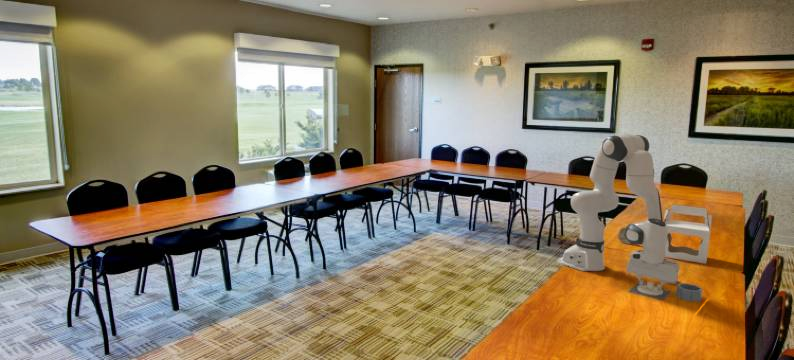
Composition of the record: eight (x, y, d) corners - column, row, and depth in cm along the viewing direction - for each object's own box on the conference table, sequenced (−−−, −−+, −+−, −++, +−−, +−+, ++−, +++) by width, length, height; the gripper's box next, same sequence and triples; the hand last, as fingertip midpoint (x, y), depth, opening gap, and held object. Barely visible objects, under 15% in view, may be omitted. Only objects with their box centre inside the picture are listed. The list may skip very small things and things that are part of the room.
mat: (627, 292, 222) (627, 291, 222) (638, 284, 232) (638, 283, 232) (662, 301, 212) (662, 300, 212) (671, 292, 223) (671, 291, 223)
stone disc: (637, 244, 296) (638, 228, 295) (634, 245, 294) (635, 229, 292) (619, 240, 304) (621, 224, 302) (616, 241, 301) (618, 225, 300)
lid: (634, 291, 222) (634, 282, 221) (641, 285, 229) (641, 277, 228) (659, 297, 215) (659, 288, 214) (665, 291, 222) (666, 282, 222)
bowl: (674, 298, 216) (675, 287, 215) (679, 292, 223) (680, 281, 222) (697, 304, 210) (699, 292, 210) (702, 298, 217) (704, 287, 216)
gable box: (707, 257, 274) (713, 206, 270) (706, 264, 263) (712, 211, 259) (661, 250, 286) (666, 201, 282) (658, 256, 275) (664, 205, 271)
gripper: (682, 260, 215) (678, 291, 217) (631, 250, 228) (628, 279, 231) (678, 263, 210) (674, 295, 213) (626, 253, 224) (623, 283, 226)
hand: (650, 287), depth 222 cm, fingers open, 6 cm apart
